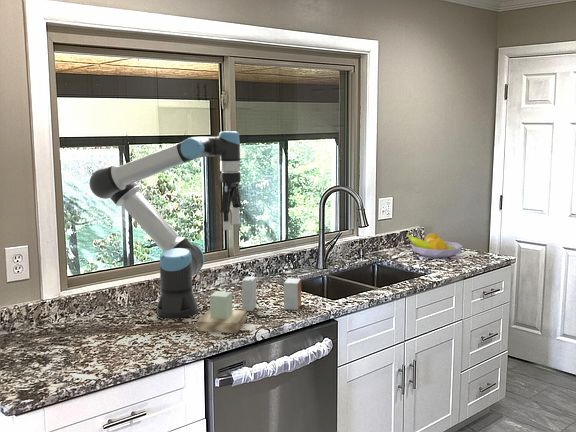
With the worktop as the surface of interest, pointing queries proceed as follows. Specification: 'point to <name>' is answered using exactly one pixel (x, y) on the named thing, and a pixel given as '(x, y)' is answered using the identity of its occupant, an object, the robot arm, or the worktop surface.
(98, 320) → the worktop surface
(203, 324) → the birch block
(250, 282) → the skincare box
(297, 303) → the small box
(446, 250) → the fruit bowl
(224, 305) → the sage block
